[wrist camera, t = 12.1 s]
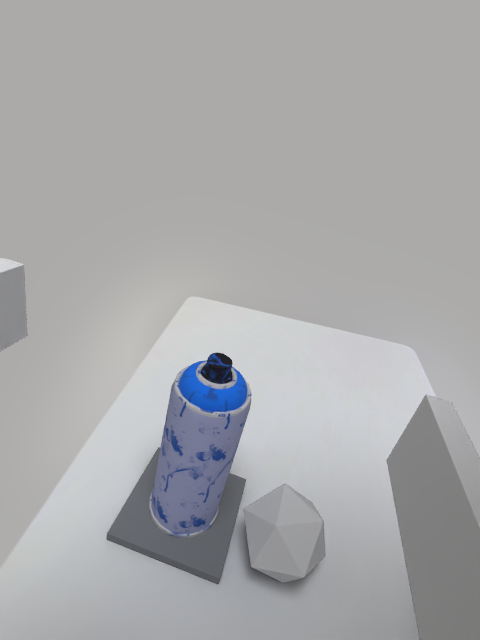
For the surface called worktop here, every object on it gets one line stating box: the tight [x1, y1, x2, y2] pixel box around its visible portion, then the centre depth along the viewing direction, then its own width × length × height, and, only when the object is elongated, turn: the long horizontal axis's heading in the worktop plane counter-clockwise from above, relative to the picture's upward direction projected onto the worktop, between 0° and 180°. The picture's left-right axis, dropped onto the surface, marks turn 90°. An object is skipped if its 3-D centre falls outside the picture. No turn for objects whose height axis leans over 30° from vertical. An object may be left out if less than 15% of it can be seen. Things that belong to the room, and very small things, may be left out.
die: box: [243, 484, 325, 583], centre depth 37 cm, size 8×9×10 cm
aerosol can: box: [149, 353, 251, 538], centre depth 36 cm, size 8×8×20 cm
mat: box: [107, 447, 246, 584], centre depth 41 cm, size 12×12×1 cm
